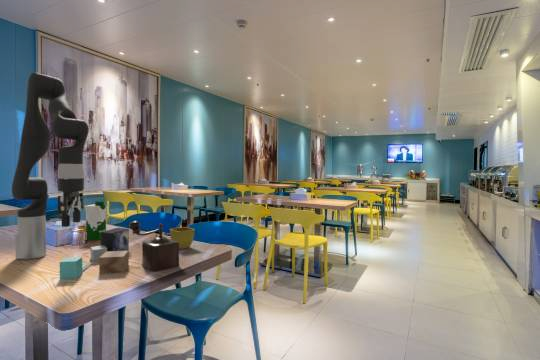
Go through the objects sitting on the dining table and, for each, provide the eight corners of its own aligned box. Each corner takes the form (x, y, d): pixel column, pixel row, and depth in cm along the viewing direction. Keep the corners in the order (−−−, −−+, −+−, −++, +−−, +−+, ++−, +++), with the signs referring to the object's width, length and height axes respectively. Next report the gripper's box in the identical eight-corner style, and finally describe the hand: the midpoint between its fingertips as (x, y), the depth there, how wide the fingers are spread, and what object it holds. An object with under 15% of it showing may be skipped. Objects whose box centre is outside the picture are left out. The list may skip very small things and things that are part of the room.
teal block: (59, 279, 102) (59, 261, 101) (66, 274, 107) (66, 257, 106) (76, 278, 103) (76, 261, 102) (82, 273, 108) (82, 257, 107)
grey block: (93, 250, 120) (90, 247, 125) (93, 262, 120) (90, 259, 125) (107, 248, 123) (104, 245, 128) (107, 260, 124) (104, 256, 128)
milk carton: (98, 241, 155) (97, 202, 154) (82, 240, 156) (81, 201, 156) (109, 237, 164) (109, 200, 163) (94, 236, 165) (94, 200, 164)
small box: (113, 257, 127) (112, 232, 127) (99, 256, 129) (99, 231, 129) (129, 251, 138) (129, 228, 137) (117, 250, 139) (117, 227, 139)
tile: (59, 272, 108) (59, 271, 108) (69, 265, 116) (69, 264, 116) (83, 271, 110) (83, 270, 110) (92, 264, 118) (92, 263, 118)
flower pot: (185, 244, 151) (185, 226, 150) (195, 247, 145) (195, 229, 144) (169, 247, 145) (169, 228, 144) (178, 251, 138) (178, 231, 138)
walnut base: (99, 274, 107) (99, 257, 107) (105, 267, 115) (105, 251, 115) (123, 272, 109) (123, 256, 109) (128, 265, 117) (128, 250, 117)
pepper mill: (165, 259, 125) (165, 216, 124) (179, 266, 117) (179, 219, 117) (127, 268, 114) (127, 220, 113) (139, 275, 106) (139, 224, 106)
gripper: (68, 176, 110) (68, 221, 110) (47, 177, 96) (48, 228, 96) (90, 176, 111) (91, 220, 112) (74, 177, 97) (74, 227, 98)
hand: (71, 224), depth 104 cm, fingers open, 8 cm apart
